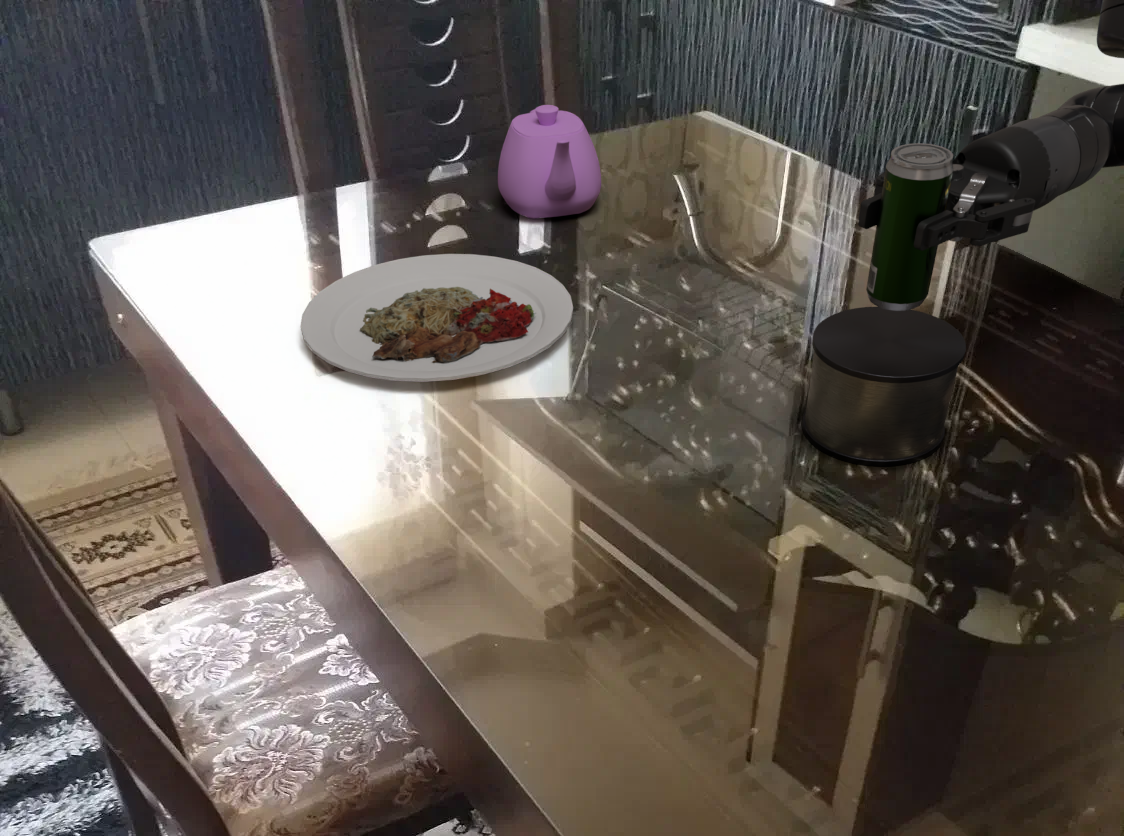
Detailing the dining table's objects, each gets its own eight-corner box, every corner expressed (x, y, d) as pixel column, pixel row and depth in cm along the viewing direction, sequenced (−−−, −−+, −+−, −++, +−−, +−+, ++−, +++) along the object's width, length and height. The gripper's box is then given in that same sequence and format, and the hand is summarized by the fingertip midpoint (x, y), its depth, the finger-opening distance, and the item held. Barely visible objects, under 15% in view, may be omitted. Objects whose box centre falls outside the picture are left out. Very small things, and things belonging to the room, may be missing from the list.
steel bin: (928, 391, 115) (947, 304, 109) (959, 466, 106) (982, 375, 99) (792, 394, 116) (803, 307, 109) (811, 468, 106) (824, 378, 100)
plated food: (277, 299, 134) (271, 270, 132) (517, 251, 141) (516, 223, 139) (341, 420, 114) (336, 389, 112) (616, 358, 122) (616, 327, 119)
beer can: (878, 315, 99) (904, 170, 91) (855, 288, 103) (877, 146, 94) (937, 307, 100) (967, 162, 91) (911, 281, 104) (939, 139, 95)
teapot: (488, 186, 156) (481, 91, 148) (583, 175, 158) (582, 80, 150) (517, 244, 143) (511, 143, 134) (620, 232, 144) (621, 131, 136)
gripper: (957, 106, 104) (830, 156, 97) (1098, 148, 96) (971, 205, 89) (940, 192, 109) (819, 245, 102) (1072, 238, 101) (951, 299, 94)
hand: (891, 226), depth 95 cm, fingers closed on beer can, 5 cm apart
